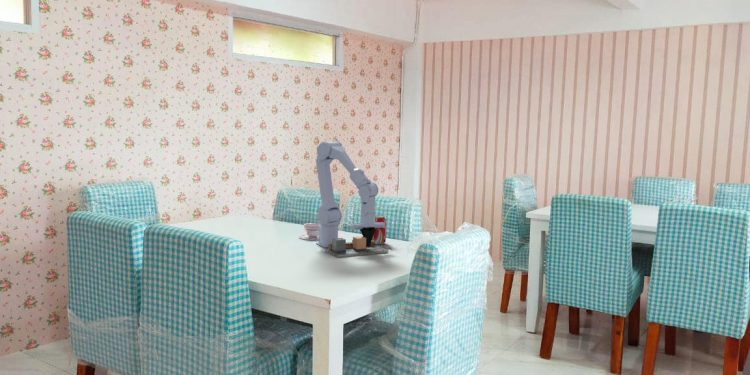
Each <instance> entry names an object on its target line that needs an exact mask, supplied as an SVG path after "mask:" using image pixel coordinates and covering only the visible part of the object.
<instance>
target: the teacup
mask: <svg viewBox="0 0 750 375" xmlns="http://www.w3.org/2000/svg"><path fill="white" fill-rule="evenodd" d="M303 227H304V231H305V232H306V234H301V235H299V236H298V237H299V239H301V240H306V241H318V229H319V227H320V223H319V222H307V223H304V224H303Z"/></svg>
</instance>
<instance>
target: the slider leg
mask: <svg viewBox="0 0 750 375" xmlns="http://www.w3.org/2000/svg"><path fill="white" fill-rule="evenodd" d="M351 242H353V249H354V250H357V251H359V250H366V238H365V237H363V235H362V236H361V235H358V236H353V237H352V239H351Z"/></svg>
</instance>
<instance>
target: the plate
mask: <svg viewBox="0 0 750 375" xmlns="http://www.w3.org/2000/svg"><path fill="white" fill-rule="evenodd" d="M325 251H326V253H328V254H330V255H333V257H334V256H335V257H336V258H345V257H346V258H347V257H358V256H366V255H367V256H368V255H378V254H388V253H389V250H388V249H386V248H383V247H381V246H378V245H375V246H370V247H366V250H359V251H357V250H354V249H353V248H347V249H346V252H339V253H336V252H334V251H332V250H330V249H329V248H326V250H325Z"/></svg>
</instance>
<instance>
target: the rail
mask: <svg viewBox="0 0 750 375" xmlns="http://www.w3.org/2000/svg"><path fill="white" fill-rule="evenodd" d="M370 246H375V241H371V245H370ZM370 246H366V247H370ZM347 248H353V242H352V241H349V242H346V249H347ZM328 249H330V250H332V244H329V247H328Z"/></svg>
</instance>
